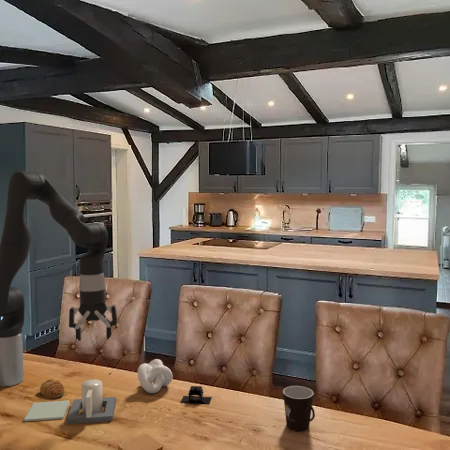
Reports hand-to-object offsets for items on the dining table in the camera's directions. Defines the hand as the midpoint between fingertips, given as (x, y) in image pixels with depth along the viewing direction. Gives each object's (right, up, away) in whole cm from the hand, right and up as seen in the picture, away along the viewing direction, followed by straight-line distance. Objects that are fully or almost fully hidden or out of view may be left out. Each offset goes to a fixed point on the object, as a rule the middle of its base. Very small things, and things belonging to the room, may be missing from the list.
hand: (93, 339), depth 146 cm
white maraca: (+1, -22, -6) cm, 22 cm away
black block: (+31, -22, +5) cm, 38 cm away
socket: (0, -21, -3) cm, 22 cm away
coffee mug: (+62, -22, -13) cm, 67 cm away
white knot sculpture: (+16, -21, +13) cm, 29 cm away
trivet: (-13, -21, -3) cm, 25 cm away
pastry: (-17, -21, +11) cm, 29 cm away
